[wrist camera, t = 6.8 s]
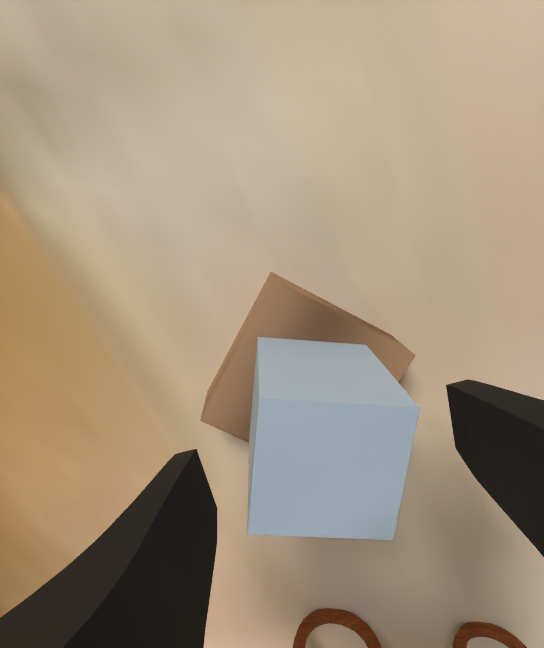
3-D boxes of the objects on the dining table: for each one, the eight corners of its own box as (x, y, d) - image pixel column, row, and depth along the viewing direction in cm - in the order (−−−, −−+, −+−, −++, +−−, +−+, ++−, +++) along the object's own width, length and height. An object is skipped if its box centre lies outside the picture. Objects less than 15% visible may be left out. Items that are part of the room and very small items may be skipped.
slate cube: (366, 344, 15) (420, 407, 10) (350, 441, 16) (393, 540, 11) (257, 336, 15) (259, 397, 10) (249, 435, 16) (247, 534, 11)
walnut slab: (388, 333, 18) (415, 355, 15) (322, 440, 19) (335, 480, 16) (270, 270, 17) (274, 282, 14) (208, 388, 18) (200, 420, 15)
